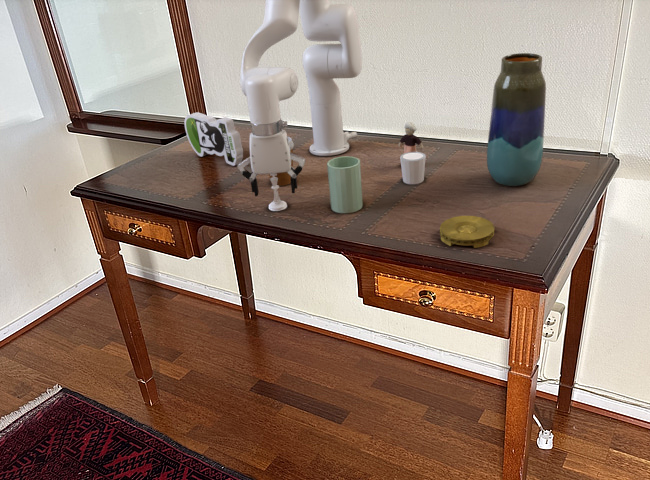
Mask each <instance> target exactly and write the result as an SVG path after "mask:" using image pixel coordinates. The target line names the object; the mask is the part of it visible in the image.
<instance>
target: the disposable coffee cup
mask: <svg viewBox="0 0 650 480" xmlns="http://www.w3.org/2000/svg"><path fill="white" fill-rule="evenodd" d="M287 137H288V142H289V147H290V153H293V154H294V146H295V142H294V141H293V139H292V137H290V136H287ZM291 166H292V167H293V168H294V160H292V164H291ZM268 176H269V179H270V178H272V177H273V176H270V174H268ZM275 177H277V178H278V181H277V185H278V186H279V187H280V186H281V187H282V186H287V185H291V180H290V178H291V176H290V175H289V174H288V173H287V172H282V173H277V175H276V176H275ZM270 184H271V185H272V182H271V181H270Z"/></svg>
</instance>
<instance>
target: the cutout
mask: <svg viewBox="0 0 650 480" xmlns="http://www.w3.org/2000/svg"><path fill="white" fill-rule="evenodd" d="M183 122H184V130H185V133H186V137H187V140H188V142H189V144H190V146H191V148H192V150H193V151H194V152H195V153H196V154H197V156H198V157H204V156H207V155H214V154H215V155H216V156H219V157H223V156H224V157H223V158H224V161H225V163H226V164H227V165H230V166H238V164H239V163H240V162H242V161H243V160H244V148H243V143H242V139H241V134H240V132H239V130H237V129H236V127H235V121H234V120H233V119H232V118H230V117H226V116H223V117H221V118H219V119H216V117H214V116H212V115H207V114H205V113H201V112H198V111H197V112H193V113H190V114H188V115H186V116H185V118H184V121H183Z"/></svg>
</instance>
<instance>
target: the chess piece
mask: <svg viewBox="0 0 650 480" xmlns="http://www.w3.org/2000/svg"><path fill="white" fill-rule="evenodd" d="M276 175H277V173H271V174H270V176H273V177H272V178H270V177H269V181H270V183H271V182H272V184H271V187H270V189H271V190H273V200H272V201H271V202H269V204H268V209H269V211H272V212H280V211H284V210H286V209H287V208H288V204H287V202H286V201H284V200H281V198H280V194H279V191H278V189H279V188H280V186H278V185H277V181H278V178H277V177H275V176H276Z"/></svg>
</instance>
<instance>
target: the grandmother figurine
mask: <svg viewBox="0 0 650 480" xmlns="http://www.w3.org/2000/svg"><path fill="white" fill-rule="evenodd" d="M404 129H405V131H404V132H405V134H404V135H403V136H402V137H401V138H400V139H399V142H398V148H402V147H403V154H404V153H408V152H417V146H418V147H419V149H420V150H423V149H424V145H423V140H422V139H420V138H419V137H418V136H416V135H415V134H414V133H415V132H416V131H417V130H418V128H417V126H416V125H415V124H414V123H413V122H411V121H410V122H406V123H405V124H404ZM403 144H404V145H403ZM416 145H417V146H416Z"/></svg>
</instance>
